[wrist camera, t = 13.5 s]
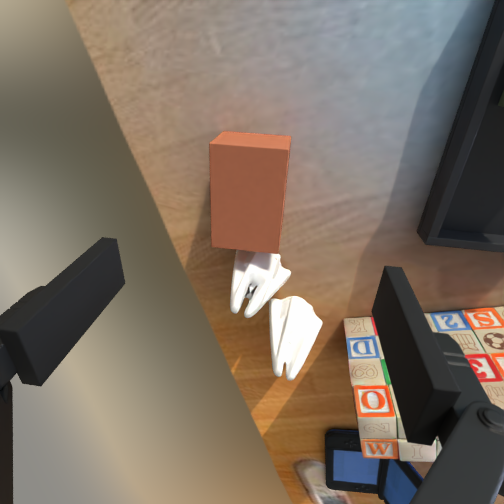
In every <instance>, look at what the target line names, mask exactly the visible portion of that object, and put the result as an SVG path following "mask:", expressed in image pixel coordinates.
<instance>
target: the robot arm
mask: <svg viewBox="0 0 504 504" xmlns="http://www.w3.org/2000/svg"><path fill="white" fill-rule="evenodd" d="M124 284H125V279H124V274H123V269H122V264H121V259H120V254H119V249H118V244H117V239H113V238H104V237H102V238H101V239H100V240H99V241H97V242H96V243H95V244H94V245H93V246H92V247H90V248H89V249H88V250H87V251H86V252H85V253H83V254H82V255H81V256H80V257H79V258H78V259H76V260H75V261H74V262H73V263H72V264H71V265H70V266H68V267H67V268H66V269H65V270H63V271H62V272H61V273H60V274H59V275H58V276H57V277H55V278H54V279H53V280H52V281H51V282H49V283H48V284H47V285H46V286H40V287H38V288H36V289H34V290H32V291H30V292H28V293H27V294H26V295H25V296H23V297H22V298H21V299H20V300H19V301H18V302H16V303H15V304H14V305H12V306H11V307H10V309H8V310H6V311H5V312H4V313H3V314H1V315H0V504H13V418H12V417H13V412H12V411H13V409H12V408H13V407H12V406H13V404H12V385H11V382H10V380H11V379H12V378H13V376H14V375H15V374H16V373H17V374H18V376H19V378H20V380H21V382H22V383H23V384H29V385H36V386H42V385H43V383H44V382H45V381H46V380H47V379H48V377H49V376H50V375H51V374H52V372H53V371H54V370H55V369H56V368H57V366H58V365H59V364H60V363H61V361H62V360H63V359H64V358H65V357H66V355H67V354H68V353H69V352H70V350H71V349H72V348H73V347H74V346H75V344H76V343H77V342H78V340H79V339H80V338H81V337H82V335H83V334H84V333H85V332H86V331H87V330H88V328H89V327H90V326H91V325H92V323H93V322H94V321H95V320H96V319H97V317H98V316H99V315H100V314H101V312H102V311H103V310H104V309H105V308H106V306H107V305H108V304H109V303H110V301H111V300H112V299H113V298H114V296H115V295H116V294H117V293H118V291H119V290H120V289H121V288H122V287H123V285H124ZM372 315H373V319H374V322H375V326H376V330H377V333H378V337H379V341H380V344H381V348H382V352H383V355H384V359H385V363H386V366H387V370H388V374H389V377H390V381H391V385H392V388H393V392H394V395H395V399H396V403H397V406H398V410H399V414H400V417H401V421H402V425H403V428H404V432H405V436H406V439H407V442H408V443H415V444H421V445H428V446H432V444H433V443H434V441H435V439H436V437H437V436H438V438H439V441H440V444H441V447H442V449H441V451H440V453H439V454H438V456H437V458H436V459H435V461H434V463H433V464H432V466H431V468H430V469H429V471H428V473H427V474H426V476H425V478H424V480H423V481H422V483H421V485H420V486H419V488H418V490H417V491H416V493H415V495H414V496H413V498H412V500H411V501H410V503H409V504H494V502H495V499H496V497H497V494H499V495H502V496H504V410H503V409H501V408H500V407H498V406H496V405H494V404H492V403H491V401H490V399H489V398H488V396H487V394H486V392H485V390H484V389H483V387H482V385H481V383H480V381H479V380H478V378H477V376H476V374H475V372H474V371H473V369H472V368H471V367H470V363H469V362H468V360H467V358H465V354H464V353H463V351H462V349H461V347H460V345H459V344H458V343H457V342H456V341H455V340H454V339H453V338H452V337H451V336H450V335H449V334H447V333H439V332H433V331H432V329H431V327H430V325H429V323H428V321H427V319H426V317H425V315H424V313H423V311H422V308H421V306H420V304H419V302H418V300H417V298H416V296H415V294H414V292H413V290H412V288H411V286H410V284H409V281H408V279H407V277H406V275H405V273H404V271H403V269H402V268H401V267H391V266H385V267H384V270H383V274H382V277H381V280H380V284H379V287H378V291H377V294H376V298H375V301H374V305H373V308H372Z"/></svg>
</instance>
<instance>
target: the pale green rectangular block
mask: <svg viewBox="0 0 504 504" xmlns="http://www.w3.org/2000/svg"><path fill="white" fill-rule="evenodd" d="M498 106H502V107H504V90H503V93H502V95H501V98H500V101H499V103H498Z"/></svg>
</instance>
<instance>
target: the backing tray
mask: <svg viewBox="0 0 504 504" xmlns="http://www.w3.org/2000/svg"><path fill="white" fill-rule="evenodd" d="M503 90H504V0H495V3H494V6H493V9H492V12H491V15H490V18H489V21H488V23H487V26H486V29H485V32H484V35H483V38H482V41H481V44H480V47H479V50H478V53H477V56H476V59H475V62H474V65H473V68H472V71H471V73H470V76H469V79H468V82H467V85H466V88H465V91H464V94H463V97H462V100H461V103H460V106H459V109H458V112H457V115H456V118H455V120H454V123H453V126H452V129H451V132H450V135H449V138H448V141H447V144H446V147H445V150H444V153H443V156H442V159H441V162H440V165H439V168H438V170H437V173H436V176H435V179H434V182H433V185H432V188H431V191H430V194H429V197H428V200H427V203H426V206H425V209H424V212H423V215H422V217H421V220H420V223H419V226H418V229H417V233H418V234H419V236H420V237H421V239H422V240H423V242H424V243H425V244H426V245H435V246H444V247H454V248H464V249H474V250H484V251H493V252H503V253H504V107H502V106H498V103H499V101H500V98H501V95H502V93H503Z"/></svg>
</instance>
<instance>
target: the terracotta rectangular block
mask: <svg viewBox="0 0 504 504" xmlns="http://www.w3.org/2000/svg"><path fill="white" fill-rule="evenodd" d="M290 144H291V136H280V135H267V134H254V133H240V132H227V131H223V132H222V133H221V134H220V135H219V136H217V137H216V138H215V139H214V140H213V141H211V142H210V143H209V154H210V203H211V247H217V248H226V249H235V250H244V251H254V252H263V253H272V254H278V253H279V246H280V238H281V231H282V222H283V212H284V202H285V192H286V183H287V173H288V163H289V154H290Z"/></svg>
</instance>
